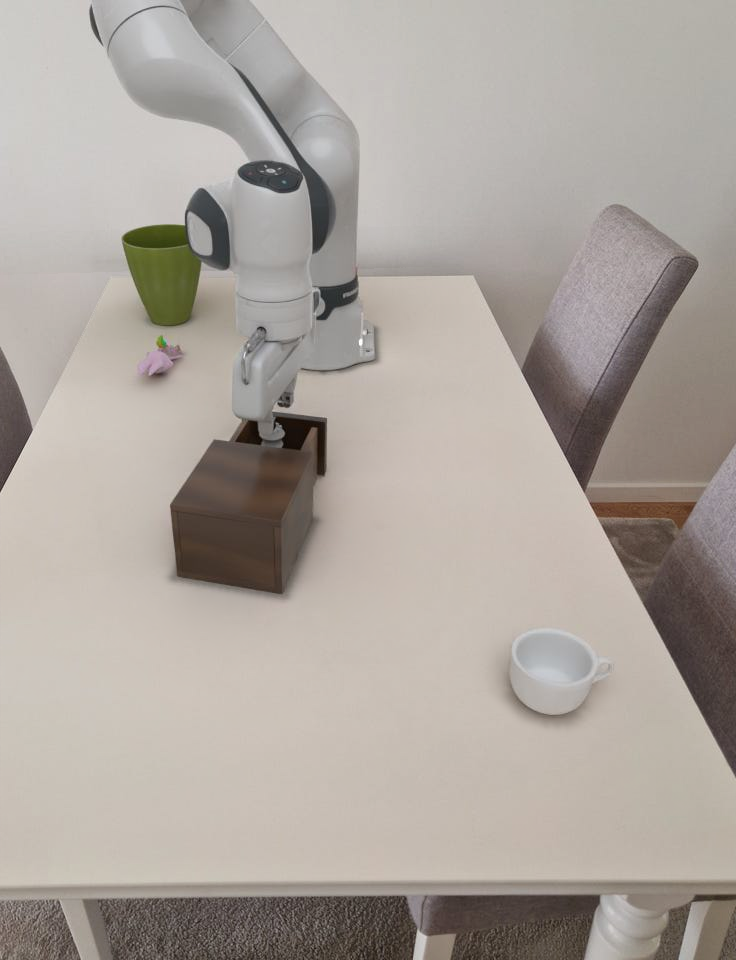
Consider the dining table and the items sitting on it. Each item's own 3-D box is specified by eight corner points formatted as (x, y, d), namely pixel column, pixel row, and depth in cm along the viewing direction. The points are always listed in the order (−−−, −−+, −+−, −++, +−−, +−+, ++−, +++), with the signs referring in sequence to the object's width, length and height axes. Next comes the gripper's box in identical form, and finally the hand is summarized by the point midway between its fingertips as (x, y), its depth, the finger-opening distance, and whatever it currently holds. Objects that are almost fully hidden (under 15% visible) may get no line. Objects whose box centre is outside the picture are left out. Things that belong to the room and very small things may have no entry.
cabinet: (218, 506, 109) (213, 438, 104) (312, 520, 106) (313, 451, 101) (177, 576, 98) (169, 504, 92) (282, 594, 95) (280, 521, 89)
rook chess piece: (249, 480, 111) (246, 427, 106) (273, 467, 113) (272, 414, 109) (272, 493, 108) (271, 439, 104) (297, 479, 111) (296, 426, 106)
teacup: (517, 730, 78) (526, 689, 75) (494, 669, 85) (501, 629, 82) (622, 722, 79) (635, 681, 76) (591, 662, 85) (601, 623, 82)
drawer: (256, 443, 121) (254, 391, 116) (333, 453, 118) (335, 401, 114) (214, 515, 106) (209, 459, 101) (301, 528, 103) (301, 471, 99)
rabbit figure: (156, 359, 150) (126, 383, 137) (154, 326, 148) (124, 347, 134) (190, 361, 149) (164, 386, 136) (189, 328, 147) (162, 350, 133)
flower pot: (132, 305, 168) (123, 225, 159) (207, 301, 169) (202, 221, 161) (129, 335, 156) (118, 250, 147) (210, 331, 157) (204, 246, 148)
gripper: (270, 352, 88) (273, 464, 96) (324, 285, 104) (323, 386, 112) (214, 345, 90) (221, 456, 97) (276, 280, 106) (278, 379, 114)
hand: (276, 418), depth 105 cm, fingers open, 6 cm apart
